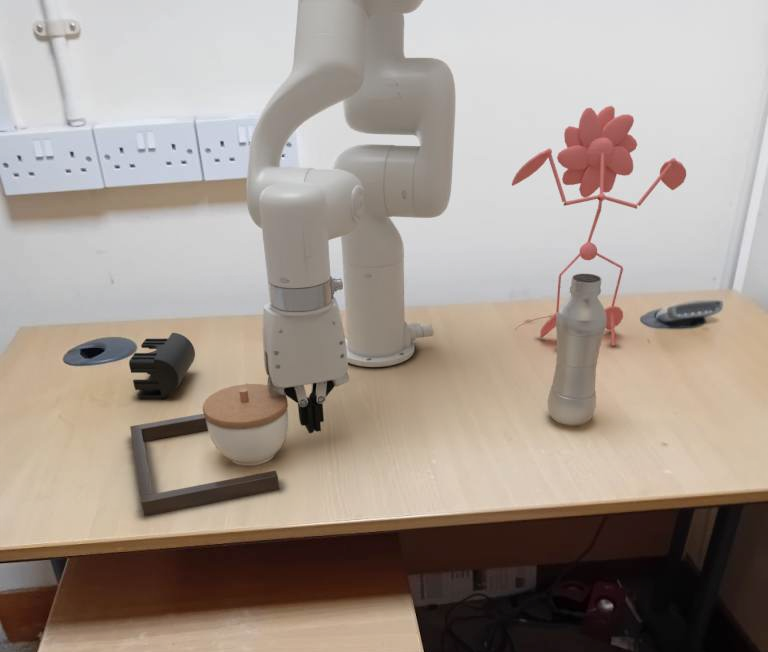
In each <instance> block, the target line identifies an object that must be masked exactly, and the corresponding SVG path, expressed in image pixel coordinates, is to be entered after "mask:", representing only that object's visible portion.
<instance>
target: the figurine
mask: <svg viewBox="0 0 768 652" xmlns="http://www.w3.org/2000/svg"><path fill="white" fill-rule="evenodd" d="M615 112H616V109H615V107H614V106H613V105H609V106H605V107H603V108H602V109H601V110H600V111H599V112H598V113H596V112H595V110H594V109H593V108H592V107H586V108H585V109H584V110H583V112H582V113H581V116H580V118H579V122H578V127H575V126H571V125H568V126H567V127H566V128H565V129H564V134H563V135H564V136H563V137H564V143H565V145H566V148H564V149H562V150H560V152H558V154H557V157H556V159H557V162H558V163H559V164H560V165H561V166H562V167H563V168H565V169H566V170H565V171H564V172H563V174H562V178H561V179H560V177H559V173H558V171H557V167H556V164H555V160H554V158H553V155H552V153H553V150H552V149H551V148H547V149H546V150H543V151H541V152H539V153H538V154H536V155H535V156H533V157H532V158H530V159H529V160H528V161H527V162H525V163H524V164H523V165H522V166H521V167H520V168H519V170H518V171H517V172H516V174H515V176H514V177H513V180H512V181H511V186H515V185H517V184H519V183H521V182H522V181H524V180H526V179H527V178H530V177H531V176H532V175H533V174H534V173H536V172H537V171H538V170H539V169H540V168H541V167H542V166H543V165H544V164H545V163H546V161H547V160H548V161H549V164H550V167H551V170H552V173H553V177H554V179H555V184H556V186H557V189H558V193H559V196H560V199H561V202H562V203H563V207H565V206H570V205H575V204H580V203H585V202H589V201H594V200H598V205H597V209H596V213H595V217H594V218H593V222H592V226H591V229H590V232H589V236H588V239H587V242H585V243H584V244H582V245H581V246H580V248H579V253H578V255H576V256H575V257H574V258H573V259H572V261H570V263H569V264H567V265H566V267H565V268H564V269H563V270H562V271H561V272H560V273H559V274H558V282H557V283H558V284H557V295H556V296H557V297H556V298H557V299H556V309H555V312H554V314H552V315H547V316H543V317H538V318H534V319H531V320H530V319H527V320H525V321H524V322H523V323H522V324H520V325H518V326H517V327H515V330H517V329H518V328H519V327H521V326H523V325H525V324H527V323H530V322H532V321H536V320H539V319H546V318H549V319H548V320H546V322H545V323H544V325H543V326H542V327H541V329H540V332H539V333H540V335H539V336H540V339H542V338H544V337H545V336H546V335H548V334H549V333H550V332H551V331H552V330H554V328H556V316H557V313H558V311H559V309H560V296H561V283H562V276H563V274H565V272H567V270H568V269H569V268H570V267H571V266H572V265H573V264H574V263H575V262H576V261H577V260H578V259H579V258H580V257H581V259H583V260H584V261H591V260H593V259H595V258H596V257H599V258H601V259H603V260H604V261H605V262H608V263H610V264H612V265H614V266H616V267H618V268H620V270H619V273H618V278H617V282H616V286H615V290H614V294H613V299H612V301H611V306H608V307H606V308H604V310H605V312H606V317H607V323H606V328H605V330H609V331H610V338H611V339H610V342H611V346H612V347H613V346H616V334H615V333H616V332H615V328H616V327H618V325H620V323H621V322H622V320H623V319H624V311H623V310H622V309H621V307H620V306H616V305H615V303H616V300H617V295H618V291H619V288H620V283H621V279H622V276H623V272H624V268H623V267H624V266H623V265H620V264H618V263H617V262H615V261H613V260H611V259H609V258H607V257H606V256H604V255H603V254H601V253H598V247H597V245H596V244H594V243H593V242H591V240H592V238H593V235H594V233H595V229H596V227H597V224H598V220H599V217H600V215H601V212H602V207H603V201H609V202H611V203H616V204H619V205H622V206H626V207H630V208H633V209H636V210H637V209H638V207H640V206H641V205H642V204H643V203H644V201H646V199H647V198H648V196H649V195H650V194H651V193H652V192H653V190H654V189H655V188H656V186H658V184H659V183H660V182H661V183H663V184H664V185H665V186H666V187H667V188H668V189H670V190H671V191H674V190H676V189H678V188H679V187H680V186H681V185H683V184H684V182H685V180H686V177H687V169H686V167H685V166H684V164H683V163H682V162H680V161H679V160H677V159H676V158H674V157H673V158H671V159H670V160H667V161H664V163H663V165H661V167H660V169H659V176H658V177H656V179H655V180H654V182H653V183H652V184H651V186H650V187H649V188H648V189H647V191H645V193H644V194H643V195H642V197H640V199H639V200H638V202H637V203H633V202H629V201H625V200H621V199H619V198H615V197H611V196H607V195H605V194H606V193H610V192H611V191H612V190H613V187H614V184H615V182H616V179H617V175H618V176H625V177H626V176H630V175H631V174H632V173H633V171H634V160H633V157H632V156H631V153H633V152H634V151H635V150H636V149H637V146H638V142H637V140H636V139H635V137H633V136H632V135H631V134H629V132H630V131H631V129H632V128H633V125H634V122H635V119H634V116H633V115H631V114H629V113H628V114H621V115H618V116H615V114H616V113H615ZM561 180H562V183H561ZM562 184H563V185H566V186H573V185H579V184H580V185H579V188H578V190H579V193H580V196H581V198H576V199H573V200H567V199H566V196H565V193H564V190H563V187H562ZM598 189H599V194H597V195H593V194H594V193H595V192H597V190H598ZM604 193H605V194H604ZM647 342H648V344H650V341H649V339H647Z"/></svg>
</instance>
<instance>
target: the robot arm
mask: <svg viewBox="0 0 768 652" xmlns="http://www.w3.org/2000/svg"><path fill="white" fill-rule="evenodd" d="M297 1H298V2H297V15H296V27H295V35H294V49H293V62H292V67H291V72H290V73H289V75H288V76H287V78H286V79H285V80H284V81H283V82H282V84H280V86H279V87H278V88H277V89H276V91H275V92H274V93H273V94H272V95H271V97H270V99H269V100H268V101H267V103H266V104H265V106H264V108H263V109H262V111H261V113H260V115H259V116H258V119H257V120H256V123H255V124H254V128H253V130H252V133H251V136H250V141H249V148H248V159H247V173H246V205H247V210H248V214H249V216H250V218H251V219H252V221H253V223H254V224H255V225H256V226H257V227H258V228H260V229H261V232H262V241H263V250H264V259H265V267H266V268H265V269H266V276H267V287H268V295H269V302H267V303H265V304H264V306H263V311H262V348H263V349H262V350H263V363H264V370H265V373H266V375H267V376H268V377H267V382H266V383H267V384H266V385H267V390H268V392H269V394H270V395H279V396H283V395H286V397H287V398H289V399H291V400H292V401H293V402H295V403H297V410H298V420H299V423H300V425H301V427H303V426H304V427H305V429H306V430H307V432H308V434H313V433H314V432H317V433H319V432H322V427H321V425H322V424H321V423H324V421H325V416H324V405H323V404H324V403H325V402H326V400H327V399H326V398H327V397H328V396H329V394H330V393H331V392H332V391H333V390H334V388H335V387H339V386H342V385H344V384H346V383H348V382H349V381H350V375H349V373H348V371H349V364H351V365H354V366H358V367H364V368H365V367H366V368H384V367H390V366H394V365H395V366H396V365H398V364H401V363H404V362H406V361H407V360H409V359H411V357H412V356H413V355H414V353H415V343H414V342H415V341H416V339H419V338H422V339H423V338H428V337H433V336H434V327H433V325H432V324H424V325H421V322H419V321H415V322H411V323H407V322H406V320H405V319H406V318H405V245H404V241H403V238H402V236H401V234H400V232H399V230H398V228H397V226H396V225H395V223H394V222H393V220H392V219H391V218H392V217H393V218H394V217H397V218H415V219H416V218H420V219H430V218H437V217H439V216H441V215H442V214H444V213H445V211H446V210H447V208H448V206H449V203H450V199H451V192H452V184H453V183H452V182H453V166H454V165H453V164H454V163H453V162H454V146H455V127H456V125H455V123H456V102H457V101H456V97H457V96H456V85H455V79H454V78H455V77H454V74H453V71H452V69H451V68H450V67H449V65H448V64H447V63H446V62H445V61H443V60H441V59H439V58H433V57H406V56H405V50H404V49H405V47H404V46H405V16H404V14H410V13H412V12H414V11H416V10H417V9H418V8H419V7H420V6H421V5H422V3H423V2H424V0H297ZM341 102H342V112H343V119H344V121H345V123H346V125H347V126H348V127H349V128H350V129H351V130H352V131H355V132H357V133H360V134H367V135H368V134H369V135H391V136H392V135H394V136H395V135H396V136H415V137H416V138H417V139H418V140H419V145H395V144H368V143H367V144H356V145H351V146H348V147H346V148H344V149H343V150H341V151H340V152H339V153H338V154H337V155H336V156H335V157H334V160H333V161H332V165H331V168H315V167H299V166H297V167H295V166H281V163H282V157H283V153H284V150H285V148H286V145H287V143H288V141H289V140H290V138H291V136H292V135H293V133H295V131H296V130H298V129H299V127H301V125H303V124H304V123H305V122H307V121H308V120H309V119H311V118H312V117H314V116H316V115H318V114H320V113H321V112H324V111H325V110H327V109H329V108H331V107H333V106H335V105H338V104H339V103H341ZM336 238H340V240H341V256H342V274H343V276H342V277H343V279H342V278H341V277H340V278H336V277H332V276H331V262H330V246H329V245H330V244H329V241H330V240H334V239H336ZM342 290H343V291H344V309H345V327H346V335H345V330H344V324H343V319H342V315H341V310H340V307H339V304H338V301H337V299H336V297H335V296H334V295H335V293H337V292H338V291H342ZM307 385H311V389H310V390H311V391H310V394H309V395H308V396H307V391H306V389H305V386H307Z"/></svg>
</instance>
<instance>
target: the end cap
mask: <svg viewBox="0 0 768 652" xmlns="http://www.w3.org/2000/svg"><path fill="white" fill-rule="evenodd" d="M140 346H141V349H148V350H153V351H150V352H134V353H133V355H132V356H131V358H130V359H129V362H128V365H129V370H130V374H131V373H132V374H133V373H135V374H147V375H149V376H148V377H147V379H133V380H132V384H133V387H134V390H135V391H137V393H136V394H137V398H138V399H139V400H164V399H167V398H169V397H170V396H171V395H173V393H174V392H176V390H177V389H178V388H179V386H180V384H181V383H182V381H183V379H184V377H185V376H186V374H187V373H188V371H189V369H190V368H191V366H192V365H193V363H194V361H195V357H196V350H195V347H194V345H193V343H192V342H191V341H190V339H189V338H187V337H186V336H185V335H183V334H182V333H181V334H180V333H177V332H172V333H170V335H169V336H168V338H145V339H144V341H143V342H142V343H141V344H140Z"/></svg>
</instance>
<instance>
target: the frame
mask: <svg viewBox="0 0 768 652" xmlns="http://www.w3.org/2000/svg"><path fill="white" fill-rule="evenodd" d="M129 428H130V437H131V442H132V450H133V456H134V463H135V464H134V465H135V469H136V470H135V471H136V478H137V484H138V491H139V499H140V504H141V508H142V512H143V516H144V517H147V516H152V515H156V514H162V513H167V512H171V511H173V512H174V511H175V510H176V511H177V510H178V511H179V510H182V509H187V508H193V507H198V506H202V505H206V504H207V505H208V504H212V503H217V502H222V501H227V500H232V499H237V498H243V497H247V496H252V495H257V494H263V493H268V492H271V491H277V490H280V482H279V475H278V473H277V470H270V471H264V472H260V473H254V474H249V475H245V476H244V475H243V476H240V477H234V478H228V479H224V480H219V481H214V482H209V483H203V484H198V485H193V486H187V487H183V488H178V489H172V490H166V491H161V492H157V493H154V491H153V486H152V480H151V475H150V474H151V473H150V468H149V462H148V456H147V451H146V444H145V442H149V441H154V440H161V439H165V438H171V437H178V436H182V435H189V434H194V433H198V432H199V433H200V432H204V431H208V428H207V424H206V419H205V417H204V413H199V414H193V415H188V416H187V415H186V416H184V417H183V416H182V417H181V416H180V417H176V418H170V419H165V420H159V421H158V420H157V421H153V422H152V421H151V422H146V423H142V424H136V425H130V426H129Z"/></svg>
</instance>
